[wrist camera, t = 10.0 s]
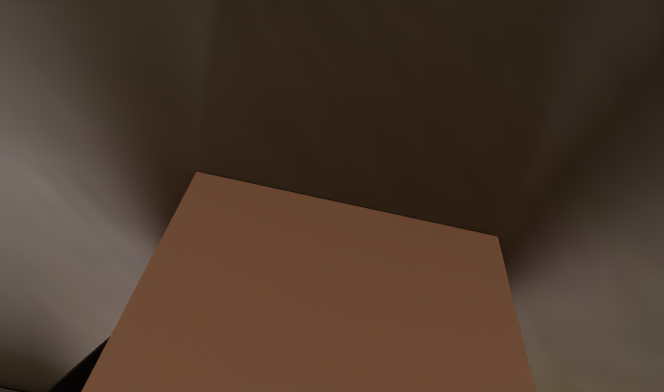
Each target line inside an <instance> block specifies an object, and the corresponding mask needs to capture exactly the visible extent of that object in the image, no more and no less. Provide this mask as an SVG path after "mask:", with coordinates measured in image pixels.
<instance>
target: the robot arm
mask: <svg viewBox="0 0 664 392" xmlns="http://www.w3.org/2000/svg"><path fill="white" fill-rule="evenodd" d="M109 338H110V337H109ZM109 338H108V339H106V340H105V341H104V342H103V343H102V344H101V345H99V346H98V347H97V348H96V349H95V350H94V351H93V352H91V353H90V354H89V355H88V356H87V357H86V358H84V359H83V360H82V361H81V362H80V363H79V364H77V365H76V366H75V367H74V368H73V369H72V370H71V371H69V372H68V373H67V374H66V375H65V376H64V377H62V378H61V379H60V380H59V381H58V382H57V383H55V384H54V385H53V386H52V387H51V388H50V389H49V390H47V391H46V392H82V390H83V388H84V386H85V384H86V382H87V380H88V378H89V376H90V374H91V373H92V371H93V369H94V367H95V365H96V363H97V361H98V359H99V357H100V355H101V353H102V351H103V350H104V348H105V346H106V344H107V342H108V340H109Z"/></svg>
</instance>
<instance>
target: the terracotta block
mask: <svg viewBox="0 0 664 392" xmlns="http://www.w3.org/2000/svg"><path fill="white" fill-rule="evenodd" d="M82 392H535V390H534V385H533V381H532V377H531V373H530V369H529V365H528V360H527V356H526V352H525V348H524V344H523V340H522V335H521V331H520V327H519V323H518V319H517V315H516V310H515V306H514V302H513V298H512V294H511V290H510V285H509V281H508V277H507V273H506V269H505V265H504V260H503V256H502V252H501V248H500V244H499V240H498V237H497V236H493V235H488V234H483V233H479V232H474V231H469V230H465V229H460V228H456V227H451V226H446V225H442V224H437V223H432V222H428V221H423V220H418V219H414V218H409V217H405V216H400V215H395V214H391V213H386V212H381V211H377V210H372V209H367V208H363V207H358V206H354V205H349V204H344V203H340V202H335V201H330V200H326V199H321V198H316V197H312V196H307V195H303V194H298V193H293V192H289V191H284V190H279V189H275V188H270V187H265V186H261V185H256V184H252V183H247V182H242V181H238V180H233V179H228V178H224V177H219V176H214V175H210V174H205V173H200V172H196V174H195V175H194V177H193V179H192V181H191V183H190V185H189V187H188V189H187V191H186V193H185V195H184V196H183V198H182V200H181V202H180V204H179V206H178V208H177V210H176V212H175V214H174V216H173V218H172V219H171V221H170V223H169V225H168V227H167V229H166V231H165V233H164V235H163V237H162V239H161V241H160V242H159V244H158V246H157V248H156V250H155V252H154V254H153V256H152V258H151V260H150V262H149V263H148V265H147V267H146V269H145V271H144V273H143V275H142V277H141V279H140V281H139V283H138V285H137V286H136V288H135V290H134V292H133V294H132V296H131V298H130V300H129V302H128V304H127V306H126V307H125V309H124V311H123V313H122V315H121V317H120V319H119V321H118V323H117V325H116V327H115V329H114V330H113V332H112V334H111V336H110V338H109V340H108V342H107V344H106V346H105V348H104V350H103V351H102V353H101V355H100V357H99V359H98V361H97V363H96V365H95V367H94V369H93V371H92V373H91V374H90V376H89V378H88V380H87V382H86V384H85V386H84V388H83V390H82Z"/></svg>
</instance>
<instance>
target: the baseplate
mask: <svg viewBox="0 0 664 392" xmlns="http://www.w3.org/2000/svg"><path fill="white" fill-rule="evenodd" d="M0 392H19V391H13V390H8V389H3V388H0Z"/></svg>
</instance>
